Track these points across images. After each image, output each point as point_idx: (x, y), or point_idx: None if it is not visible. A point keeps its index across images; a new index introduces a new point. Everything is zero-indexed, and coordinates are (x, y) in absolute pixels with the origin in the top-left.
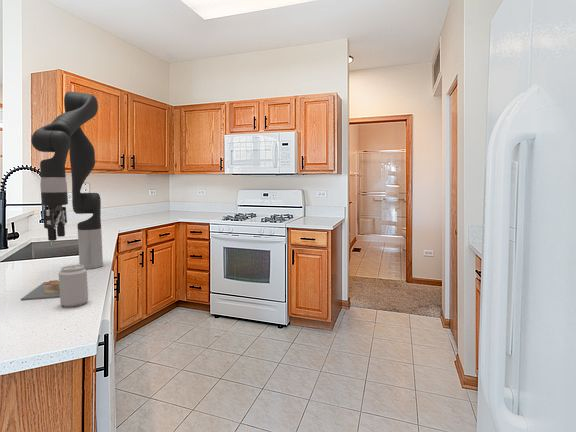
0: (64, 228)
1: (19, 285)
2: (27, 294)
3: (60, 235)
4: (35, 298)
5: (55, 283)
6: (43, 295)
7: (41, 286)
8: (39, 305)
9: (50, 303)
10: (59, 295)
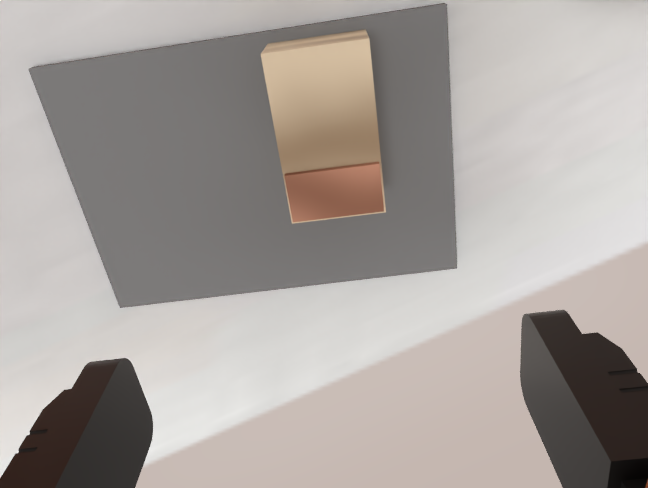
0: (39, 463)
1: (170, 397)
2: (377, 275)
3: (136, 407)
4: (453, 202)
5: (353, 158)
6: (415, 180)
7: (219, 278)
8: (585, 120)
9: (565, 71)
10: (437, 78)
